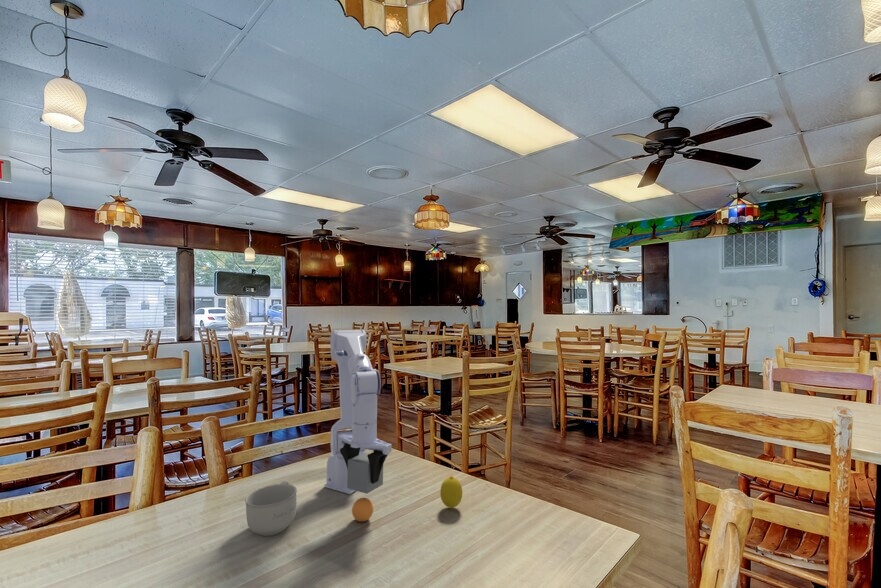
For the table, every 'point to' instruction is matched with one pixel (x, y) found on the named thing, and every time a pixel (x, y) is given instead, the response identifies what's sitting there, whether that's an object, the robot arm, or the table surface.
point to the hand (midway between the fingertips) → (363, 479)
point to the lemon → (451, 492)
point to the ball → (362, 509)
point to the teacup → (271, 508)
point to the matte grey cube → (361, 474)
